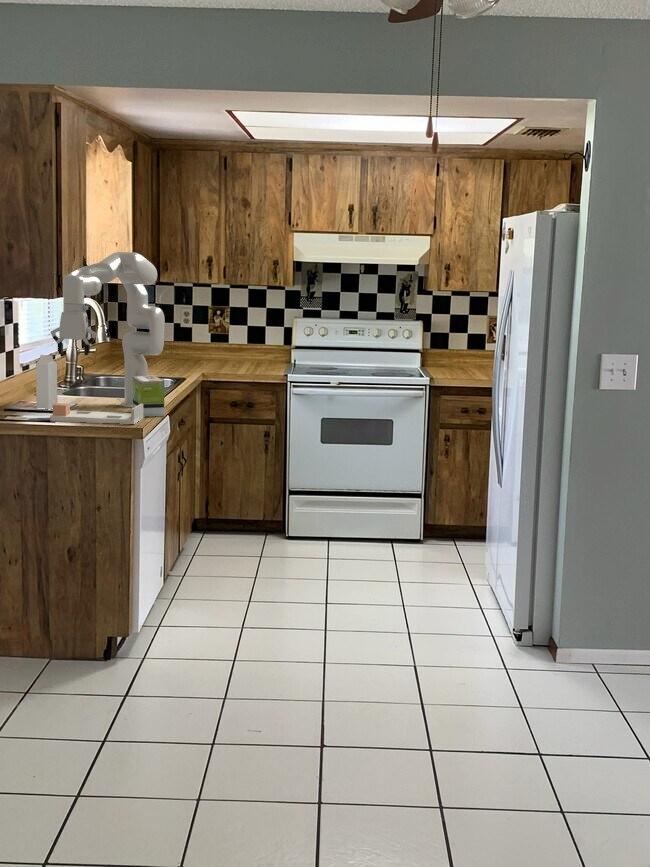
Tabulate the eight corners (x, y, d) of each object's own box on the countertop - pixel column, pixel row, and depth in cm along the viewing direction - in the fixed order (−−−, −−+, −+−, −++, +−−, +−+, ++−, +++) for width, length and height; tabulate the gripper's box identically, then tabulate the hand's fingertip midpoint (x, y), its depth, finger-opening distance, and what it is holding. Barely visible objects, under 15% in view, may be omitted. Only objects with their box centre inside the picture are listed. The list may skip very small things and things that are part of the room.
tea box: (131, 411, 391) (131, 375, 388) (155, 411, 395) (156, 375, 392) (140, 417, 377) (140, 380, 374) (165, 416, 381) (165, 380, 379)
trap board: (63, 415, 375) (62, 400, 374) (143, 418, 373) (143, 403, 372) (50, 421, 360) (50, 405, 359) (133, 424, 359) (133, 409, 358)
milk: (45, 407, 392) (44, 354, 389) (57, 408, 390) (57, 355, 387) (36, 409, 387) (35, 355, 383) (48, 410, 385) (48, 356, 381)
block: (57, 413, 366) (57, 403, 365) (69, 413, 366) (69, 403, 365) (52, 415, 361) (52, 404, 360) (65, 415, 361) (65, 405, 360)
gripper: (99, 309, 359) (99, 354, 362) (53, 307, 359) (53, 352, 362) (94, 310, 352) (94, 356, 354) (47, 307, 352) (47, 354, 354)
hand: (73, 354), depth 358 cm, fingers open, 9 cm apart
